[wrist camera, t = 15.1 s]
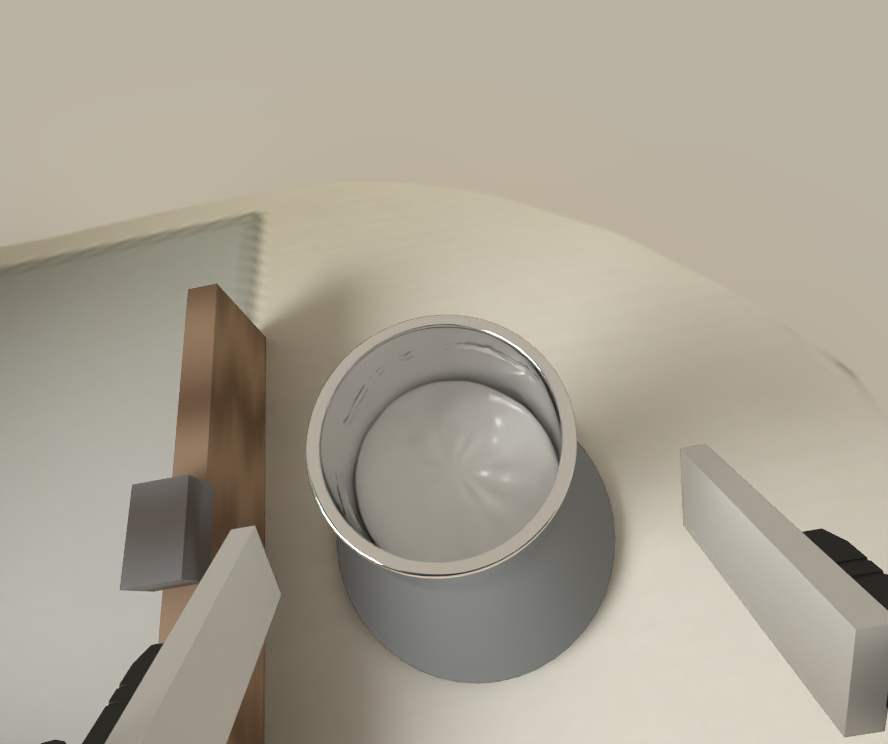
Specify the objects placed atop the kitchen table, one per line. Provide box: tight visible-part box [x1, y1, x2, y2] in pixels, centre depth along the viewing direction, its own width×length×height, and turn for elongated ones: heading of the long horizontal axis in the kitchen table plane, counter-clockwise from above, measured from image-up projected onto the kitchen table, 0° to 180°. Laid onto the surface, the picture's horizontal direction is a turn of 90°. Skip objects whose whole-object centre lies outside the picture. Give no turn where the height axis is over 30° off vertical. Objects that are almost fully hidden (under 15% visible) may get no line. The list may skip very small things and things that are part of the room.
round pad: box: [337, 442, 615, 683], centre depth 26 cm, size 14×14×1 cm
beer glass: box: [306, 315, 577, 594], centre depth 19 cm, size 7×7×15 cm
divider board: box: [120, 284, 266, 744], centre depth 23 cm, size 26×2×8 cm, turn 9°
